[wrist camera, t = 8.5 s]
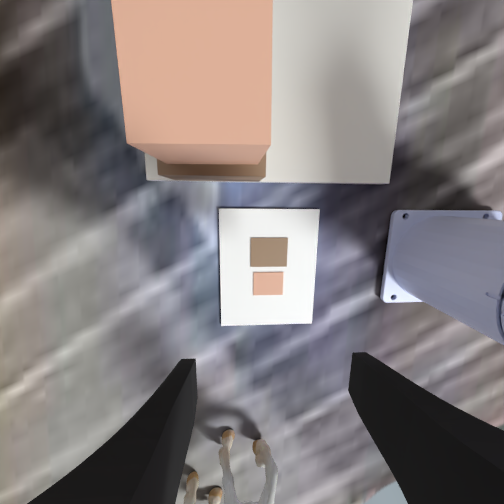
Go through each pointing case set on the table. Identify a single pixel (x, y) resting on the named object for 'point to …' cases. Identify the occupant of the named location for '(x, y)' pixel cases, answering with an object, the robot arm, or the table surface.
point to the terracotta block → (196, 78)
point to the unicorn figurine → (230, 497)
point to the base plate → (333, 91)
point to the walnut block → (213, 171)
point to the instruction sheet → (267, 265)
